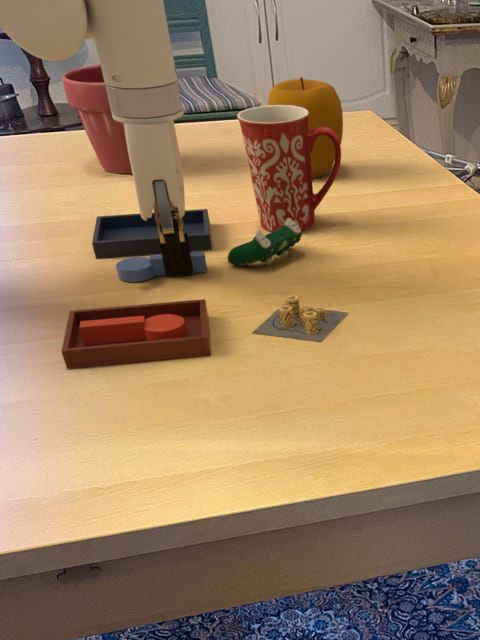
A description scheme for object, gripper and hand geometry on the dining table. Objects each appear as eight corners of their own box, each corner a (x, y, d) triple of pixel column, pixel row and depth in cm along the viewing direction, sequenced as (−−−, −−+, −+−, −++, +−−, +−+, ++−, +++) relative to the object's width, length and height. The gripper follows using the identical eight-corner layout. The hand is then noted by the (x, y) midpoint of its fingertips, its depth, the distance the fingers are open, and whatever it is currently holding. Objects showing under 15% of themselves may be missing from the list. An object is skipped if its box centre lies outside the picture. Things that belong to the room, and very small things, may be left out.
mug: (246, 235, 123) (229, 121, 114) (260, 212, 130) (245, 103, 121) (342, 237, 123) (332, 123, 114) (351, 214, 130) (342, 105, 121)
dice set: (315, 335, 101) (313, 317, 99) (271, 329, 102) (269, 311, 100) (333, 316, 104) (331, 299, 103) (291, 311, 105) (289, 294, 104)
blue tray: (95, 258, 117) (91, 243, 116) (100, 231, 124) (96, 216, 123) (212, 249, 119) (209, 234, 118) (209, 223, 127) (207, 208, 125)
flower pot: (73, 161, 148) (49, 68, 139) (160, 148, 154) (142, 58, 145) (100, 184, 139) (76, 86, 130) (191, 169, 145) (174, 75, 136)
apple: (362, 173, 144) (355, 77, 135) (306, 188, 138) (296, 89, 130) (316, 159, 150) (307, 66, 141) (261, 173, 144) (248, 77, 135)
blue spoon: (206, 263, 116) (203, 246, 115) (207, 276, 113) (204, 259, 111) (119, 270, 114) (115, 253, 113) (117, 283, 111) (113, 266, 109)
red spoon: (83, 351, 96) (78, 332, 95) (86, 333, 100) (81, 315, 98) (187, 341, 98) (183, 323, 97) (186, 324, 101) (183, 306, 100)
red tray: (66, 369, 94) (61, 351, 93) (74, 327, 102) (69, 310, 100) (210, 355, 97) (207, 337, 96) (208, 315, 104) (205, 298, 103)
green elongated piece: (242, 284, 116) (264, 256, 111) (222, 257, 115) (243, 228, 110) (291, 261, 121) (313, 233, 117) (272, 235, 121) (294, 207, 116)
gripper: (112, 86, 106) (149, 251, 119) (105, 120, 95) (146, 299, 107) (180, 83, 108) (210, 247, 120) (181, 116, 96) (213, 294, 109)
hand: (180, 270), depth 114 cm, fingers closed on blue spoon, 1 cm apart
